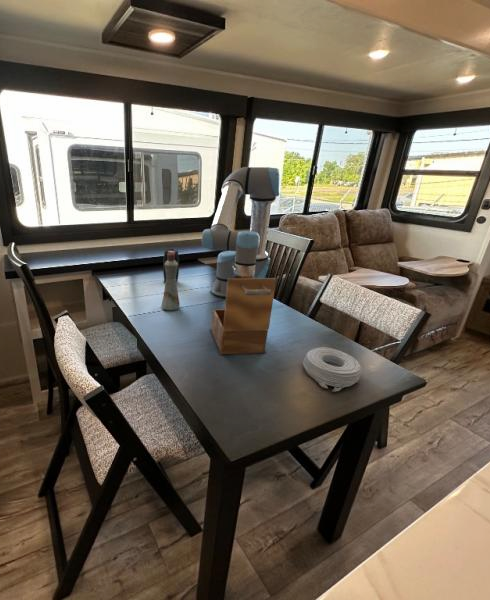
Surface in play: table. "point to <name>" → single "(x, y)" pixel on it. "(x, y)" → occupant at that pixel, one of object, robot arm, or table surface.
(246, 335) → the chest
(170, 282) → the bottle
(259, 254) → the robot arm
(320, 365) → the cable
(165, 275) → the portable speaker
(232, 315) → the lid
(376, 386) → the table surface
